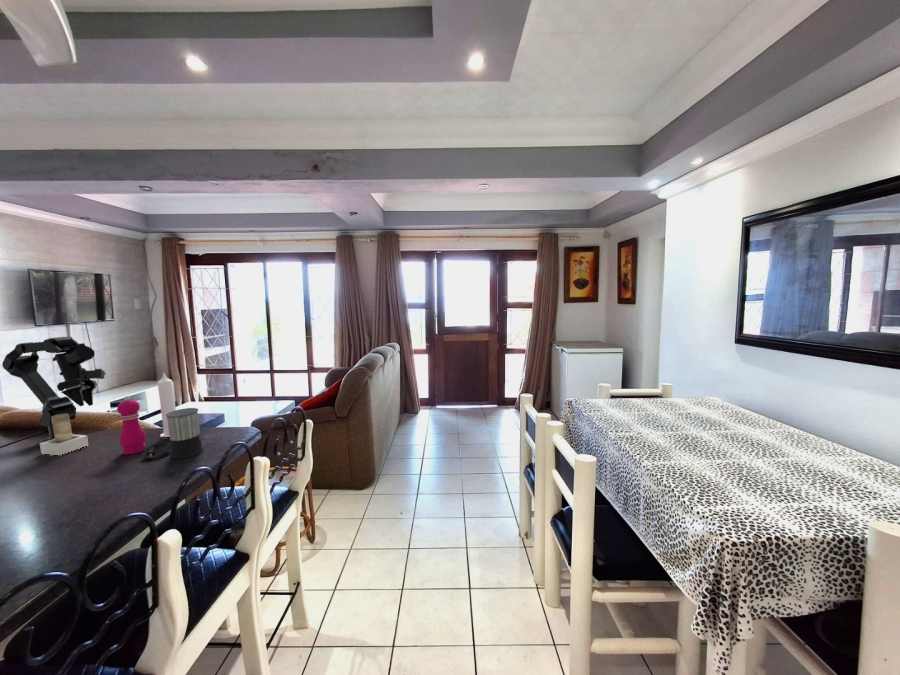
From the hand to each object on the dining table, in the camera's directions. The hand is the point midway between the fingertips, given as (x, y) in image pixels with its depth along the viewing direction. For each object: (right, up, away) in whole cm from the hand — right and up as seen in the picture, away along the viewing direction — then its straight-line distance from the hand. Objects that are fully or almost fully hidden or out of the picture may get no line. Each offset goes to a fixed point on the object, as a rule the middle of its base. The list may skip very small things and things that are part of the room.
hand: (86, 405), depth 143 cm
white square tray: (+1, -15, -8) cm, 17 cm away
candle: (+31, -12, +3) cm, 33 cm away
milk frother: (+46, -14, -16) cm, 51 cm away
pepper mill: (+29, -14, -12) cm, 34 cm away
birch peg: (+1, -15, -8) cm, 17 cm away
